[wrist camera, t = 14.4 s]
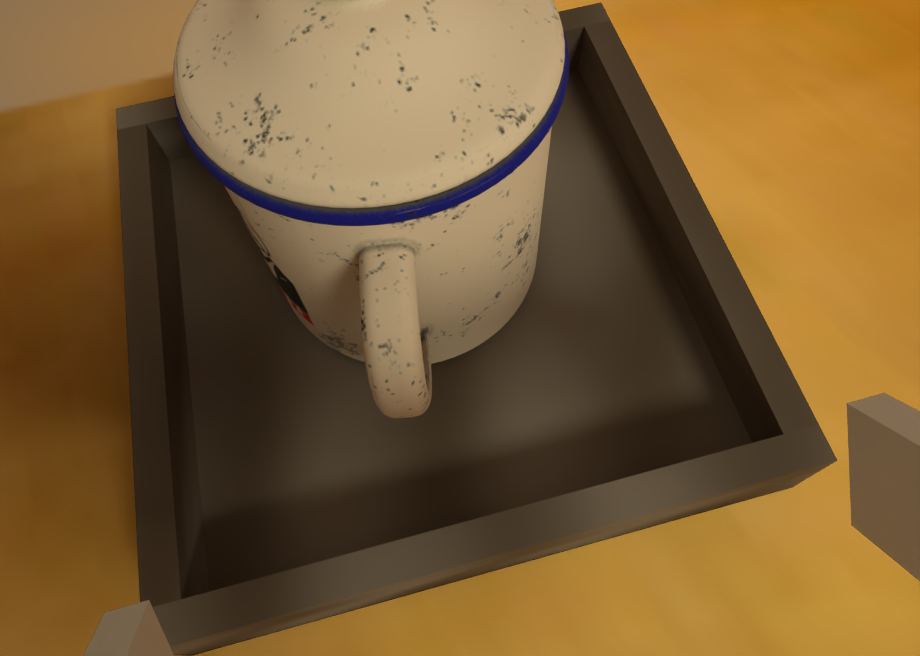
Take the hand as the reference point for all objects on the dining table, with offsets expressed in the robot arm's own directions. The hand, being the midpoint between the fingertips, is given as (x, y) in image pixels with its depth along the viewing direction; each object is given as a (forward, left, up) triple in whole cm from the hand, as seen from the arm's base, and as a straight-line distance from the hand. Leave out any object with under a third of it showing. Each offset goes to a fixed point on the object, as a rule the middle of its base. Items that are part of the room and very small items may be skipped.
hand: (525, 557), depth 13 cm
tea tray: (-3, +9, -8) cm, 12 cm away
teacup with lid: (-3, +9, -7) cm, 12 cm away
